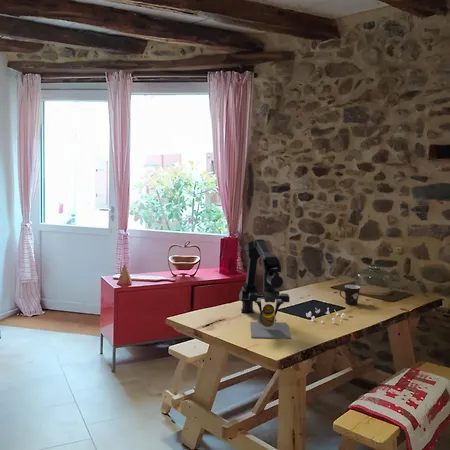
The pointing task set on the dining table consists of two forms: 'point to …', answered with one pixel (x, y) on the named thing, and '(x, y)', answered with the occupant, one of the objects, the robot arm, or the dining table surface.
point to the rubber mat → (270, 331)
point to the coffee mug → (351, 294)
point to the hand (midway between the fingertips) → (268, 315)
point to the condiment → (267, 317)
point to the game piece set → (327, 313)
